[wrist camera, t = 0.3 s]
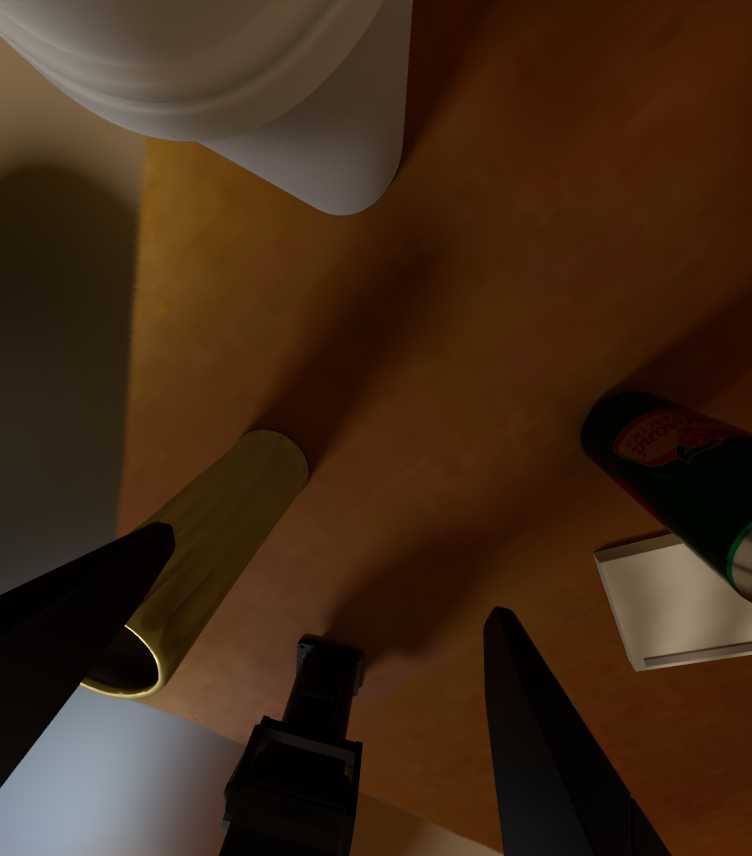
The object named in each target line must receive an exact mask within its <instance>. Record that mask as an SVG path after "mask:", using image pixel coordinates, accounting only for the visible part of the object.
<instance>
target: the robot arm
mask: <svg viewBox="0 0 752 856" xmlns="http://www.w3.org/2000/svg"><path fill="white" fill-rule="evenodd" d="M175 546H176V543H175V537H174V532H173V527H172V526H171V525H170V524H167V523H163V522H158V521H157V522H153V523H151V524H148V525H146V526H144V527H142V528H140V529H138V530H136V531H134V532H132V533H130V534H127V535H125V536H123V537H121V538H119V539H117V540H115V541H113V542H111V543H109V544H106V545H104V546H102V547H100V548H98V549H96V550H94V551H92V552H90V553H88V554H86V555H84V556H81V557H79V558H77V559H75V560H73V561H71V562H69V563H66V564H65V565H62V566H60V567H58V568H56V569H54V570H52V571H50V572H48V573H45V574H43V575H41V576H39V577H37V578H35V579H33V580H31V581H29V582H27V583H24V584H22V585H20V586H18V587H16V588H14V589H12V590H10V591H8V592H5V593H3V594H1V595H0V788H1V786H2V785H3V784H4V782H5V781H6V780H7V779H8V777H9V776H10V775H11V773H12V772H13V771H14V769H15V768H16V766H18V764H19V763H20V762H21V760H22V759H23V758H24V756H25V755H26V754H27V753H28V751H29V750H30V749H31V747H32V746H33V745H34V743H35V742H36V741H37V740H38V738H39V737H40V736H41V734H42V733H43V732H44V730H45V729H46V728H47V726H48V725H49V724H50V722H51V721H52V720H53V719H54V717H55V716H56V715H57V713H58V712H59V711H60V709H61V708H62V707H63V706H64V704H65V703H66V701H67V700H68V699H69V698H70V696H71V695H72V694H73V692H74V691H75V690H76V689H77V687H78V686H79V685H80V683H81V682H82V681H83V679H84V678H85V677H86V676H87V674H88V673H89V672H90V670H91V669H92V668H93V666H94V665H95V664H96V663H97V661H98V660H99V659H100V657H101V656H102V655H103V653H104V652H105V651H106V649H107V648H108V647H109V646H110V644H111V643H112V642H113V640H114V639H115V638H116V636H117V635H118V634H119V632H120V631H121V630H122V629H123V627H124V626H125V625H126V623H127V622H128V621H129V619H130V618H131V617H132V615H133V614H134V613H135V611H136V610H137V609H138V607H139V606H140V604H141V603H142V601H143V600H144V598H145V597H146V595H147V594H148V592H149V590H150V589H151V587H152V586H153V584H154V583H155V581H156V579H157V578H158V576H159V575H160V573H161V572H162V570H163V568H164V567H165V565H166V564H167V562H168V560H169V559H170V557H171V556H172V554H173V552H174V550H175ZM483 637H484V675H485V700H486V711H487V719H488V727H489V735H490V744H491V752H492V760H493V768H494V777H495V785H496V793H497V801H498V810H499V818H500V826H501V834H502V842H503V851H504V856H672V855H671V854H670V852H669V851H668V849H667V848H666V846H665V845H664V843H663V842H662V840H661V839H660V837H659V836H658V834H657V833H656V831H655V830H654V828H653V827H652V825H651V824H650V822H649V820H648V819H647V817H646V816H645V814H644V813H643V811H642V810H641V808H640V807H639V805H638V803H637V802H636V800H635V799H634V798H632V797H631V794H630V791H629V790H628V788H627V787H626V785H625V784H624V782H623V781H622V779H621V777H620V776H619V774H618V773H617V771H616V770H615V768H614V767H613V765H612V764H611V762H610V761H609V759H608V757H607V756H606V754H605V753H604V751H603V750H602V748H601V747H600V745H599V744H598V742H597V740H596V739H595V737H594V736H593V734H592V733H591V731H590V730H589V728H588V727H587V725H586V723H585V722H584V720H583V719H582V717H581V716H580V714H579V713H578V711H577V710H576V708H575V706H574V705H573V703H572V702H571V700H570V699H569V697H568V696H567V694H566V693H565V691H564V689H563V688H562V686H561V685H560V683H559V682H558V680H557V679H556V677H555V676H554V674H553V672H552V671H551V669H550V668H549V666H548V665H547V663H546V662H545V660H544V659H543V657H542V655H541V654H540V652H539V651H538V649H537V648H536V646H535V645H534V643H533V642H532V640H531V638H530V637H529V635H528V634H527V632H526V631H525V629H524V628H523V626H522V625H521V623H520V622H519V620H518V618H517V617H516V615H515V614H514V613H513V611H511V610H510V609H507V608H503V607H499V606H496V607H494V609H493V610H492V612H491V614H490V615H489V617H488V619H487V620H486V622H485V625H484V630H483ZM363 656H364V655H363V653H362V652H360V651H356V650H351V649H347V648H342V647H337V646H333V645H328V644H323V643H319V642H314V641H309V640H304V639H301V640H299V642H298V645H297V671H296V678H295V681H294V685H293V688H292V691H291V694H290V697H289V700H288V703H287V706H286V709H285V712H284V715H283V718H282V721H278V720H274V719H270V717H269V716H265V715H264V716H263V718H262V721H261V723H260V724H258V725H255V727H254V729H253V732H252V734H251V737H250V739H249V742H248V744H247V747H246V749H245V751H244V753H243V755H242V757H241V759H240V761H239V763H238V765H237V766H236V768H235V770H234V772H233V774H232V776H231V778H230V780H229V781H228V783H227V785H226V788H225V791H224V799H225V803H226V806H225V810H224V817H223V822H222V826H221V831H222V832H224V833H226V836H225V839H224V842H223V845H222V848H221V851H220V854H219V856H349V853H350V848H351V843H352V837H353V830H354V823H355V816H356V807H357V798H358V788H359V778H360V767H361V757H362V746H363V743H362V742H358V741H356V742H353V741H349V740H346V733H347V727H348V721H349V716H350V710H351V704H352V698H353V696H357V694H358V688H359V682H360V675H361V669H362V662H363Z"/></svg>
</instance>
